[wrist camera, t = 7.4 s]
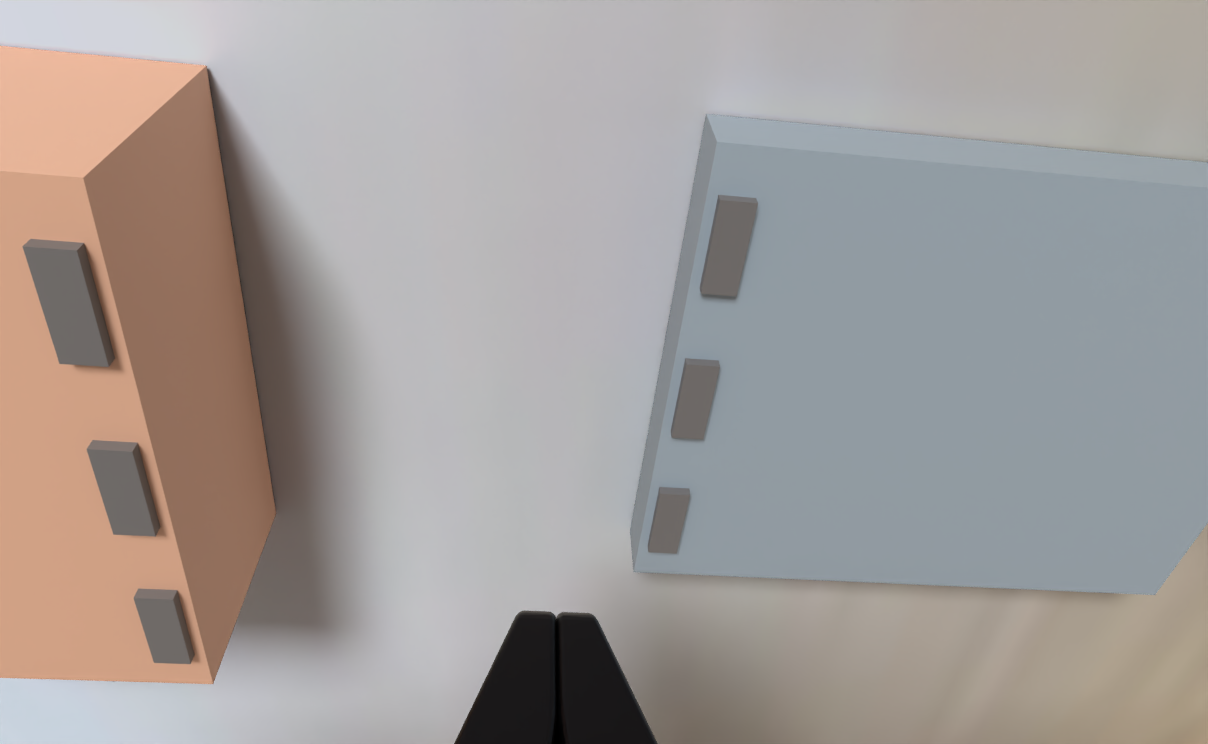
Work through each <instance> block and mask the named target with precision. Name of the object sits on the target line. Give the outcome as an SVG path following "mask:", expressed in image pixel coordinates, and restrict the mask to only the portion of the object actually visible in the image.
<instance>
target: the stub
mask: <svg viewBox="0 0 1208 744" xmlns="http://www.w3.org/2000/svg"><path fill="white" fill-rule="evenodd" d="M275 515H276V510H275V503H274V497H273V491H272V484H271V478H270V471H269V465H268V458H267V452H266V446H265V439H264V433H263V426H262V420H261V413H260V407H259V401H258V394H257V388H256V381H255V375H254V368H253V362H252V356H251V349H250V343H249V336H248V330H247V323H246V317H245V311H244V304H243V298H242V291H241V285H240V278H239V272H238V266H237V259H236V253H235V246H234V240H233V233H232V227H231V221H230V214H229V208H228V201H227V195H226V188H225V182H224V175H223V169H222V163H221V156H220V150H219V143H218V137H217V130H216V124H215V118H214V111H213V105H212V98H211V92H210V85H209V79H208V73H207V66H204V65H193V64H183V63H173V62H162V61H152V60H142V59H131V58H121V57H111V56H100V55H90V54H80V53H69V52H59V51H49V50H38V49H28V48H17V47H7V46H0V678H27V679H61V680H95V681H128V682H162V683H195V684H213V683H214V680H215V677H216V675H217V672H218V669H219V666H220V664H221V661H222V658H223V656H224V653H225V650H226V648H227V645H228V642H229V639H230V637H231V634H232V631H233V629H234V626H235V623H236V621H237V618H238V615H239V612H240V610H241V607H242V604H243V602H244V599H245V596H246V594H247V591H248V588H249V585H250V583H251V580H252V577H253V575H254V572H255V569H256V567H257V564H258V561H259V558H260V556H261V553H262V550H263V548H264V545H265V542H266V540H267V537H268V534H269V531H270V529H271V526H272V523H273V521H274V518H275Z"/></svg>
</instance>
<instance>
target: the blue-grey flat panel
mask: <svg viewBox="0 0 1208 744" xmlns="http://www.w3.org/2000/svg"><path fill="white" fill-rule="evenodd" d="M1207 523H1208V162H1198V161H1188V160H1177V159H1167V158H1157V157H1146V156H1136V155H1125V154H1115V153H1105V152H1094V151H1084V150H1074V149H1063V148H1053V147H1043V146H1032V145H1022V144H1012V143H1001V142H991V141H980V140H970V139H960V138H949V137H939V136H929V135H918V134H908V133H898V132H887V131H877V130H867V129H856V128H846V127H836V126H825V125H815V124H804V123H794V122H784V121H773V120H763V119H753V118H742V117H732V116H722V115H711V114H706V118H705V124H704V129H703V135H702V140H701V146H700V151H699V156H698V162H697V167H696V173H695V178H694V184H693V189H692V195H691V200H690V206H689V211H688V217H687V222H686V228H685V233H684V239H683V244H682V250H681V255H680V260H679V266H678V271H677V277H676V282H675V288H674V293H673V299H672V304H671V310H670V315H669V321H668V326H667V332H666V337H665V343H664V348H663V354H662V359H661V365H660V370H659V375H658V381H657V386H656V392H655V397H654V403H653V408H652V414H651V419H650V425H649V430H648V436H647V441H646V447H645V452H644V458H643V463H642V469H641V474H640V479H639V485H638V490H637V496H636V501H635V507H634V512H633V518H632V523H631V529H630V535H631V547H632V558H633V570H634V572H643V573H666V574H689V575H711V576H734V577H757V578H780V579H803V580H825V581H848V582H871V583H894V584H917V585H939V586H962V587H985V588H1008V589H1031V590H1053V591H1076V592H1099V593H1122V594H1145V595H1155V594H1156V593H1157V591H1158V590H1159V589H1160V587H1161V586H1162V585H1163V583H1164V582H1165V581H1166V579H1167V578H1168V576H1169V575H1170V574H1171V572H1172V571H1173V570H1174V568H1175V567H1176V565H1177V564H1178V563H1179V561H1180V560H1181V559H1182V557H1183V556H1184V555H1185V553H1186V552H1187V550H1188V549H1189V548H1190V546H1191V545H1192V544H1193V542H1194V541H1195V540H1196V538H1197V537H1198V535H1199V534H1200V533H1201V531H1202V530H1203V529H1204V527H1205V526H1206V525H1207Z"/></svg>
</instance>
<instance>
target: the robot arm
mask: <svg viewBox="0 0 1208 744" xmlns="http://www.w3.org/2000/svg"><path fill="white" fill-rule="evenodd" d="M454 744H658V743H657V741H656V739H655V737H654V735H653V733H652V731H651V729H650V727H649V725H648V723H647V721H646V719H645V717H644V715H643V712H642V710H641V708H640V706H639V704H638V702H637V700H636V698H635V696H634V694H633V692H632V690H631V688H630V686H629V684H628V682H627V680H626V678H625V675H624V673H623V671H622V669H621V667H620V665H619V663H618V661H617V659H616V657H615V655H614V653H613V651H612V649H611V647H610V645H609V643H608V641H607V639H606V636H605V634H604V632H603V630H602V628H601V626H600V624H599V622H598V620H597V619H596V618H595V616H594V615H592V614H590V613H571V612H562V613H560V614H558V616H557V617H555V615H554V614H553V613H551V612H546V611H521V612H519V613H518V614H517V615H516V617H515V619H514V621H513V623H512V625H511V627H510V629H509V631H508V633H507V635H506V637H505V639H504V642H503V644H502V646H501V648H500V650H499V652H498V654H497V656H496V658H495V660H494V662H493V664H492V666H491V669H490V671H489V673H488V675H487V677H486V679H485V681H484V683H483V685H482V687H481V689H480V691H479V693H478V695H477V698H476V700H475V702H474V704H473V706H472V708H471V710H470V712H469V714H468V716H467V718H466V720H465V722H464V724H463V727H462V729H461V731H460V733H459V735H458V737H457V739H456V741H455V743H454Z"/></svg>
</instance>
